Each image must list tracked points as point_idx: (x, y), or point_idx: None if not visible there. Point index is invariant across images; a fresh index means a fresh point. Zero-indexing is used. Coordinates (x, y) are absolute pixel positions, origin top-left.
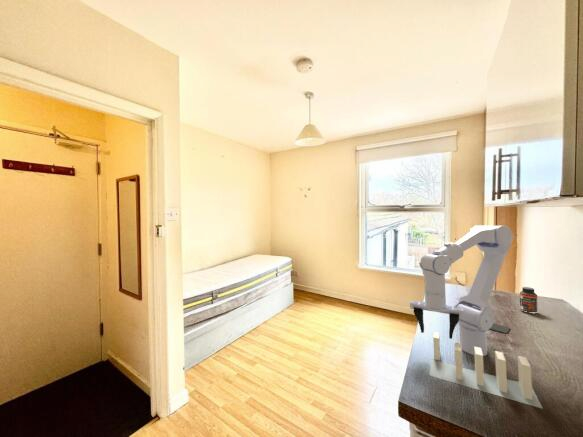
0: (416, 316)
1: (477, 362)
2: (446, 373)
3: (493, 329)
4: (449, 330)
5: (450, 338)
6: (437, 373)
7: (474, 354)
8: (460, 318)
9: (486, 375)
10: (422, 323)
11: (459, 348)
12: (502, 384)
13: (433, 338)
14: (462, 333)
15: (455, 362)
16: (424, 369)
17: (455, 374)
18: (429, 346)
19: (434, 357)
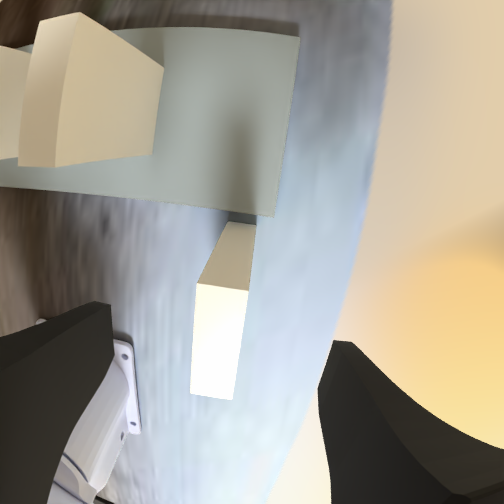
0: (479, 443)
1: (12, 52)
2: (205, 91)
3: None
4: (82, 367)
5: (102, 303)
6: (255, 70)
7: (2, 153)
8: (63, 500)
9: (40, 173)
10: (367, 403)
11: (43, 52)
12: None
13: (248, 285)
14: (80, 427)
15: (131, 96)
16: (317, 132)
17: (160, 105)
18: (261, 382)
19: (253, 234)
